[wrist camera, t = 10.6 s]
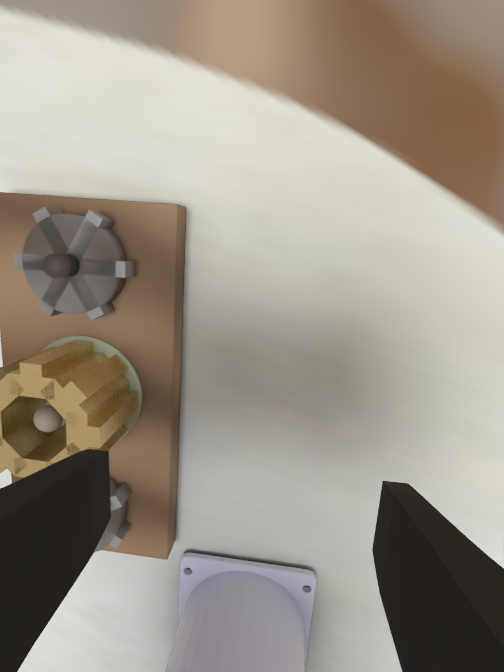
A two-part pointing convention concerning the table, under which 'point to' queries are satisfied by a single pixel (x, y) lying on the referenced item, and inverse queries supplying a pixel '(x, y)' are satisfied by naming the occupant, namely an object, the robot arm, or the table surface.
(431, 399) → the table surface
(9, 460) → the brass gear
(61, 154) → the table surface
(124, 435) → the gear board
